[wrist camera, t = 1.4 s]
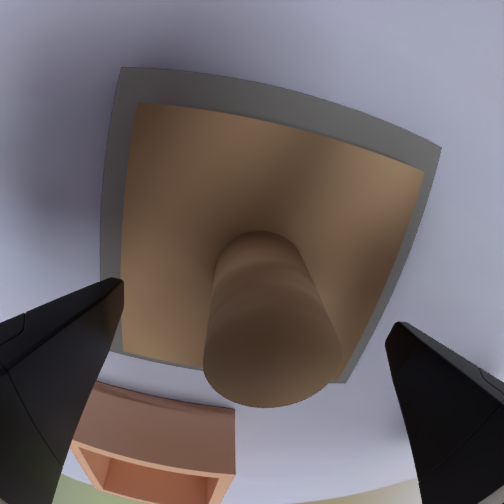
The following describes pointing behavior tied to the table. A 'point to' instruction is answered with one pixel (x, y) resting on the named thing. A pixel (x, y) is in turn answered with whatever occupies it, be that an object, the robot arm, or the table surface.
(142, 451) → the dish
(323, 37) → the table surface
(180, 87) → the mat
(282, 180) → the lid
